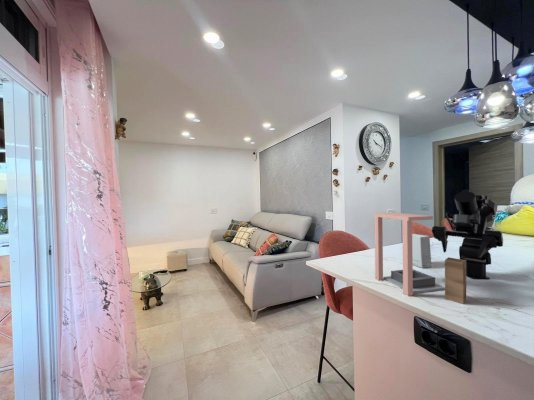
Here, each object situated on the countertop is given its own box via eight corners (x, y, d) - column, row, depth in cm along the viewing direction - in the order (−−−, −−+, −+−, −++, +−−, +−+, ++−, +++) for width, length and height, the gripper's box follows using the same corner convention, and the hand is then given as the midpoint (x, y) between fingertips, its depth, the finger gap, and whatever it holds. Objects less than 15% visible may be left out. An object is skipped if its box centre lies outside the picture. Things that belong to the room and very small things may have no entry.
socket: (411, 275, 91) (411, 266, 91) (445, 289, 77) (445, 279, 77) (383, 278, 88) (383, 269, 88) (412, 293, 75) (412, 283, 74)
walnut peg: (448, 294, 73) (448, 257, 73) (466, 299, 70) (466, 260, 70) (445, 298, 71) (444, 259, 70) (463, 304, 67) (462, 263, 67)
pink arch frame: (395, 275, 91) (394, 212, 91) (433, 293, 74) (432, 216, 74) (374, 278, 89) (373, 213, 89) (409, 296, 72) (408, 217, 72)
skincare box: (431, 267, 101) (431, 236, 101) (421, 268, 100) (421, 236, 99) (415, 262, 109) (415, 233, 109) (405, 263, 108) (405, 233, 107)
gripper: (432, 205, 85) (423, 237, 79) (501, 206, 70) (497, 245, 64) (439, 223, 90) (430, 254, 84) (504, 227, 75) (500, 265, 69)
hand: (460, 254), depth 75 cm, fingers open, 9 cm apart
